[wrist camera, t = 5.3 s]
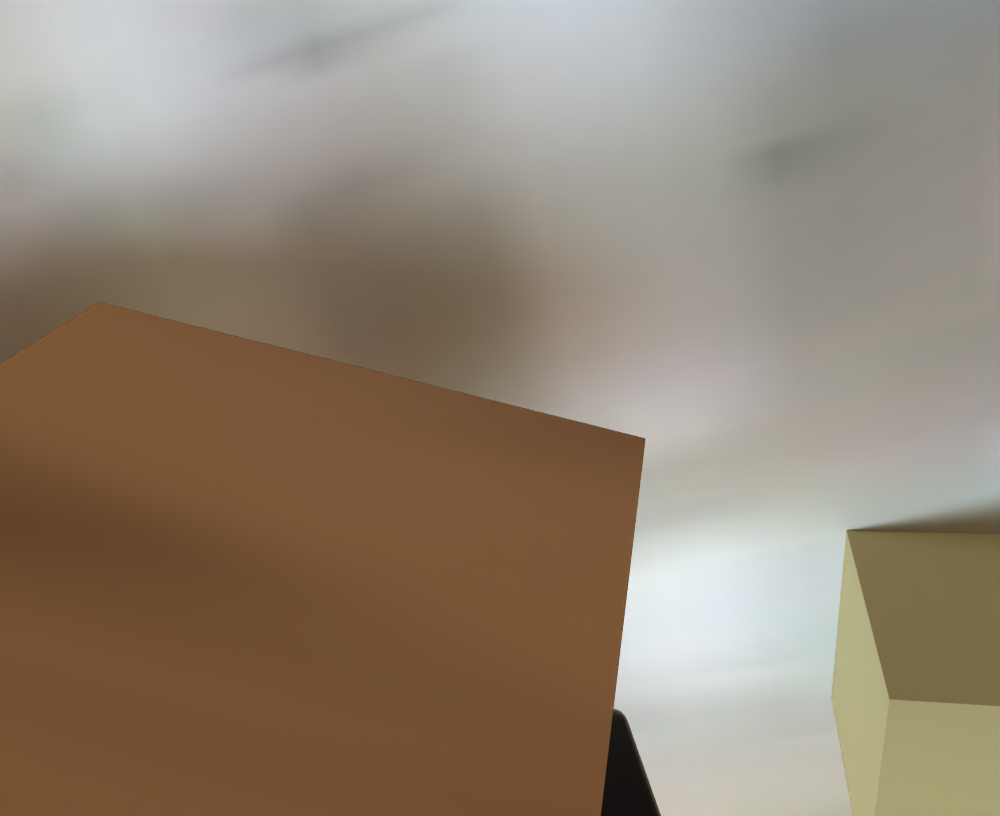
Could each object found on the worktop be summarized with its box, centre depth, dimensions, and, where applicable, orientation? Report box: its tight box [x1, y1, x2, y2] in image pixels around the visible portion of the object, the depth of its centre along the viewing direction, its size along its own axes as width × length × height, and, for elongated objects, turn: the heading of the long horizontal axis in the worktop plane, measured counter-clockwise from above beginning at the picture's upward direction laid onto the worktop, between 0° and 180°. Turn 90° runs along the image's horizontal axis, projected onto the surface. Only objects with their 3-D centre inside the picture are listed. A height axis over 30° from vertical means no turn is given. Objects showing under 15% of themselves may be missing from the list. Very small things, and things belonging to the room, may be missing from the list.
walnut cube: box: [0, 302, 645, 816], centre depth 7 cm, size 5×5×5 cm
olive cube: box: [832, 530, 1000, 816], centre depth 18 cm, size 5×5×5 cm
